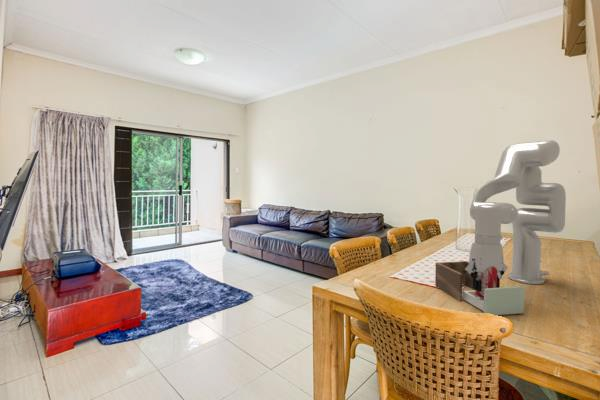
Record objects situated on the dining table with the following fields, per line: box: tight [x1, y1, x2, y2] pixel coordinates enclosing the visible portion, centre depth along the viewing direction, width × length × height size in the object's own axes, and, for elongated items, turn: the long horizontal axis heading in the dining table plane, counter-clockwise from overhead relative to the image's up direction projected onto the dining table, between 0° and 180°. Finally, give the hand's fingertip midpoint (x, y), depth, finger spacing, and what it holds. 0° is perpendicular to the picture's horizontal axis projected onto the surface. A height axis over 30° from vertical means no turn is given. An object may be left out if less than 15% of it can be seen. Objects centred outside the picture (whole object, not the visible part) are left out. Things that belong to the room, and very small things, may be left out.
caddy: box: [434, 260, 475, 302], centre depth 111 cm, size 14×15×10 cm
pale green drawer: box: [462, 285, 526, 316], centre depth 99 cm, size 14×15×9 cm
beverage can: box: [476, 266, 497, 299], centre depth 99 cm, size 6×6×12 cm
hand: (486, 289), depth 100 cm, fingers closed on beverage can, 6 cm apart
